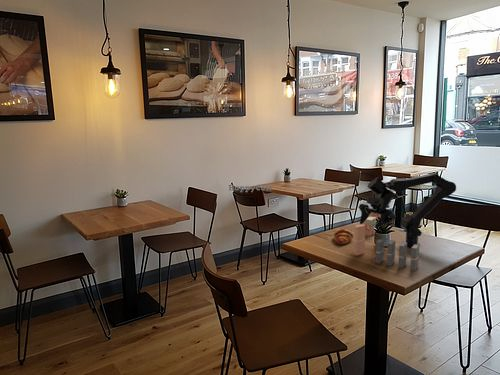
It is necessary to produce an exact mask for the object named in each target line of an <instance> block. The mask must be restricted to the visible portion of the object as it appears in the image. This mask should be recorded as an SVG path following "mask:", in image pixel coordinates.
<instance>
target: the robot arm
mask: <svg viewBox="0 0 500 375" xmlns="http://www.w3.org/2000/svg"><path fill="white" fill-rule="evenodd" d="M430 183H433V184H434V185H436V186H435V189H434V192H433V193H432V194H431V195H430V196H429V197H428V198H427V199H426V201H424V202H423V203H422V204H421V206H419V207H418V208H417V209H416V211H414V212H413V213H411V214H410V213H406V214H405V215H404V217H402V218H401V221H400V228H402V229H403V232H405V243H407V248H412V247H413V246H414V245H415V244H416V245H419V246H420V245H421V244H420V243H419V237H421V236H422V233H423V232H422V230H420V229H419V227H420V225H421V222H422V221H423V219H424V218H425V217H426V216H427V215H428V214H429V213H430V212H431V211H432V210H433V209H434V208H435V207H436V206H437V205H438V204H439V203H440V202H441V200H443V199H445V198H447V197H449V196H451V195H453V194H454V193H455V192H456V191H457V185H456V184H457V183H455V182H453V181H450V180H447V179H445V178H444V177H441V176H440V175H439V174H438V173H435V172H431V173H428V174H427V173H426V174H423V175H418V176H414V177H410V178H409V177H408V178H392V179H390V180H389V181H387V182H383V180H381V178H380V177H375V178H374V179H372V180H371V181H370V182H369V183H368V184H367V188H368V189H369V191H370V190H371V192H372V193H373V194H375V195H377V196H378V195H379V196H378V197H373V196H368V197H367V199H366V203H360V204H359V206H358V209H359V210H360V213H361V214H360V220H359V225H361V224H362V223H363V222H364V221H365V220H366V219H367V218H368V217H369V214H371V212H372V213H376V214H380V215H381V217H380V219H379V221H378V222H377V224H376V226H375V228H376V229H377V228H379V227H380V226H382V225H384V224H385V225H386V224H387V223H391V222H395V221H396V219H397V216H396V214H395V213H394V211H393V210H391V209H389V208H390V204H391V202H392V200H396V199H397V200H398V198H399V196H398V193H401V192H404V191H407V190H409V188H411V187H417V186H421V185H425V184H430ZM368 204H369V205H368Z"/></svg>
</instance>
